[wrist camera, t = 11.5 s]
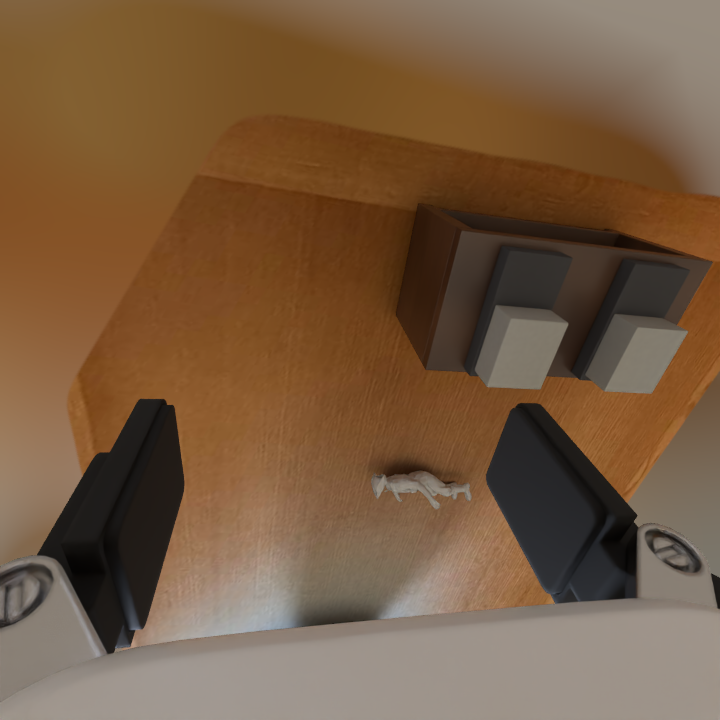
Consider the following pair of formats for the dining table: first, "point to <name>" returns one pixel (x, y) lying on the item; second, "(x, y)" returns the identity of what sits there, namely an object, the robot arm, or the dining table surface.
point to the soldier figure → (418, 486)
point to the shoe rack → (476, 266)
